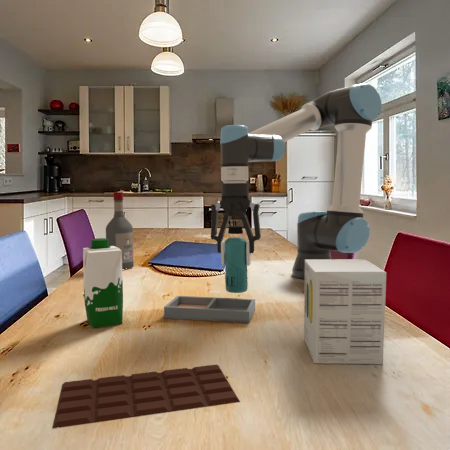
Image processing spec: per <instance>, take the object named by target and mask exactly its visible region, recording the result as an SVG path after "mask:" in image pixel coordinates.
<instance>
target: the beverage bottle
mask: <svg viewBox="0 0 450 450" xmlns="http://www.w3.org/2000/svg"><path fill="white" fill-rule="evenodd" d="M227 229H228V230H227V231H228V232H227V234H231V235H241V234H243V233H244V231H243V226H242V225H229V226H228V228H227ZM224 241H225V265H224V267H225V268H224V271H225V273H224V279H225V290H226V292H228V293H231V294H233V293H234V294H241V293H245V292H247V291H248V288H249V287H248V286H249V282H248V279H249V277H248V273H249V272H248V271H249V270H248V266H247V252H246V242H247V241H248V240H246V239H245V238H244V237H241V236H232V237H231V236H230V237H228V238H227V239H226V240H224Z"/></svg>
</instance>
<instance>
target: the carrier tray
mask: <svg viewBox="0 0 450 450" xmlns="http://www.w3.org/2000/svg"><path fill="white" fill-rule="evenodd" d="M255 311H256V298H255V299H254V298H236V297H234V298H231V297H216V296H215V297H211V296H192V295H176V296H175V297H174V298H173V299H172V300H170V301H169V302H168V303H167V304H166V305H165V306H164V307H163V318H164V319H174V320H189V321H190V320H192V321H193V320H194V321H206V322H207V321H208V322H224V323H225V322H226V323H243V324H250V323H251V320H252V318H253V315H254V313H255Z"/></svg>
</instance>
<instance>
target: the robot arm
mask: <svg viewBox="0 0 450 450" xmlns="http://www.w3.org/2000/svg"><path fill="white" fill-rule="evenodd" d="M382 105H383V104H382V99H381V95H380V93H379V92H378V90H377V88H376V87H375V86H373V85H371V84H370V83H366V82H364V83H359V84H357V83H354V84H353V85H349V86H347V87H342V88H341V87H340V88H338V89H334V90H331V91H328V92H326V93H323V94H322V95H320V96H317V97H316V98H314V99H313V100H310V101H309V102H307V103H305V104H303V105H302V106H301V108H300V109H299V110H297V111H294V112H291V113H290V114H287V115H286V116H283V117H281V118H279V119H277V120H275V121H273V122H271V123H267V124H266V125H264V126H261V127H260V128H257V129H255V130H253V131H250V132H249V130H248V129H249V127H248V126H246V125H243V124H231V125H230V124H229V125H224V126H222V127H221V129H220V140H219V141H220V142H219V144H220V172H221V173H220V175H221V176H220V178H221V179H220V180H221V182H223V183H222V184H221V186H220V187H221V189H220V190H221V191H220V192H221V200H220V201H219V203H213V204H210V210H211V224H210V225H211V226H210V227H211V229H210V239H211V240H214V241H216V242H217V243H216V245H217V253H218V254H220V258H221V260H220V263H221V264H220V265H221V266H225V241H226V240H224V237H225V233H226V230H227V229H228V228H227V227H228V224H229V221H230V218H231V217H234V216H235V217H240V219H241V222H242V225H243V227H244V230H245V233H246V237H247V239H248V240H246V241H247V242H246V252H247V267H249V266H251V260H252V258H251V254H254V253H255V241H259V240H260V239H261V237H262V236H261V235H262V233H261V226H260V216H259V212H260V207H261V205H260V204H259V203H254V202H251V201H250V197H249V196H250V195H249V193H250V191H249V189H250V188H249V183H248V181H249V163H255V162H257V163H258V162H269V163H270V162H271V163H272V162H277V161H280V160H281V159H282V158H283V157H284V155H285V153H286V149H285V148H286V147H285V146H286V143H285V142H288V141H289V140H292V139H295V138H296V137H298V136H300V135H302V134H304V133H306V132H308V131H313V132H315V131H317V130H319V129H321V128H326V127H330V126H334V129H336V131H337V132H338V140H337V149H336V159H335V171H334V181H333V193H332V202H331V203H332V204H331V206H330V207H328V208H327V210H321V211H319V210H318V211H308V212H301V213H299V214H298V217H297V224H296V226H297V230H296V231H297V234H296V235H297V245H296V246H297V247H296V248H297V253H296V257H295V259H294V263H293V266H292V276H293V277H295V278H298V279H304V280H305V259H332V256H331V251H334V252H340V253H345V254H346V253H348V254H354V253H357V252H360V251H361V250H362V249H363V247H365V246H366V245H367V243H368V241H369V237H370V234H371V232H370V231H371V229H370V225H369V222H368V221H367V220H366V219H365V218H364V211H363V210H362V208H360V201H361V191H362V181H363V180H362V179H363V170H364V168H363V167H364V161H365V159H364V158H365V149H366V139H367V138H366V137H367V133H368V132H370V130H372V127H373V121H374V120H376V119H377V118H378V117H379V116H380V114H381V112H382ZM221 208H222V210H223V211H224V215H223V220H222V223H221V226H220V228H219V232H218V224H219V223H218V222H219V211H220V209H221ZM249 208H250V210H251V211H252V216H253V217H252V218H253V226H254V227H253V229H254V234H253V231H252V228H251V225H250V222H249V219H248V216H247V211H248V209H249Z"/></svg>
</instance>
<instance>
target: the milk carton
mask: <svg viewBox="0 0 450 450" xmlns="http://www.w3.org/2000/svg"><path fill="white" fill-rule="evenodd" d="M90 245H91V246H88V247H83V248H82V260H83V261H82V262H83V263H82V264H83V266H82V267H83V268H82V269H83V270H82V271H83V297H84V308H85V309H84V310H85V314H86V320H87V322H88V324H89V325H90V327H91V328H92V329H95V328H96V329H97V328H101V327H102V328H103V327H109V326H117V325H122V324H123V317H124V316H123V312H124V289H123V288H124V285H123V279H124V278H123V270H122V250H120V249H119V248H117V247H115V246H109V241H108V239H106V237H105V238H103V237H102V238H101V237H100V238H92V239H91V244H90Z"/></svg>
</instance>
